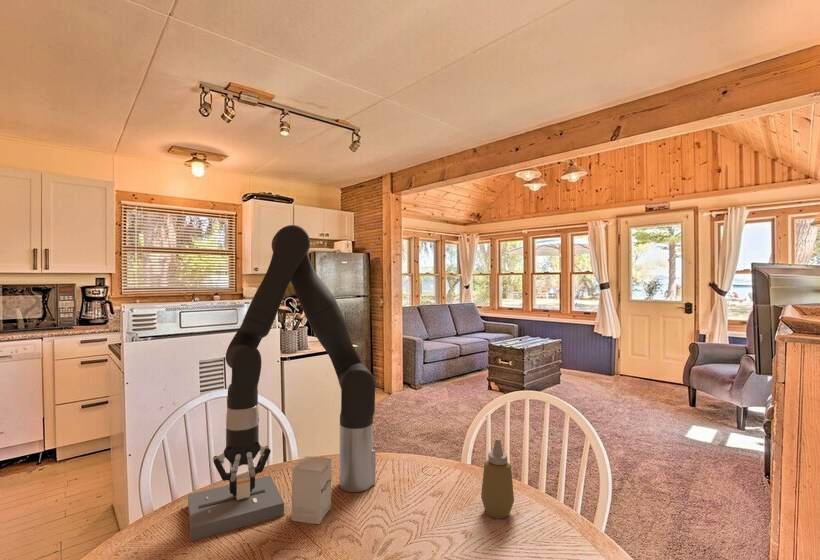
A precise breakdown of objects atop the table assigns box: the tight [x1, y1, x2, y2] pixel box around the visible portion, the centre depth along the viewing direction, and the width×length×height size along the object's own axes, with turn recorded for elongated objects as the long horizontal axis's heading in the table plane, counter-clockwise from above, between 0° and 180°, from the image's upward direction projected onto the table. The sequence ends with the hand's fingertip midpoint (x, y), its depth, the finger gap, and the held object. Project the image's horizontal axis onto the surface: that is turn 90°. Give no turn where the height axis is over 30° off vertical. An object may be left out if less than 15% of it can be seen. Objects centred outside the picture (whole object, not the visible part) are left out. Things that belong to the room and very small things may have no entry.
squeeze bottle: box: [480, 438, 515, 519], centre depth 101 cm, size 8×8×18 cm
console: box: [187, 475, 285, 542], centre depth 101 cm, size 20×16×3 cm
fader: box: [236, 469, 250, 500], centre depth 102 cm, size 3×4×5 cm
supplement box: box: [291, 455, 332, 525], centre depth 99 cm, size 7×7×13 cm
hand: (242, 492), depth 102 cm, fingers closed on fader, 3 cm apart
